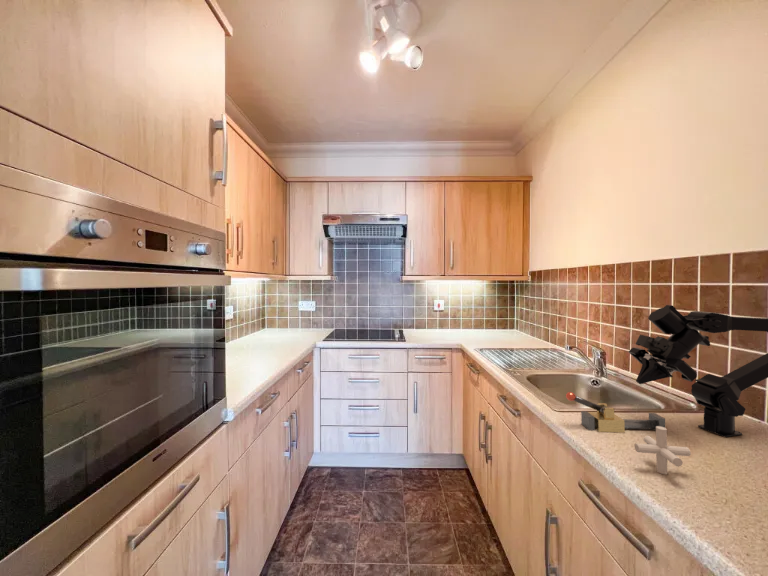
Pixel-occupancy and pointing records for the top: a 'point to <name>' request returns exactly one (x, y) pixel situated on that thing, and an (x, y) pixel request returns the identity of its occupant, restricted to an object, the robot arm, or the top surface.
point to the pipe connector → (662, 450)
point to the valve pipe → (617, 421)
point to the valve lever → (584, 402)
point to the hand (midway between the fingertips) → (637, 382)
